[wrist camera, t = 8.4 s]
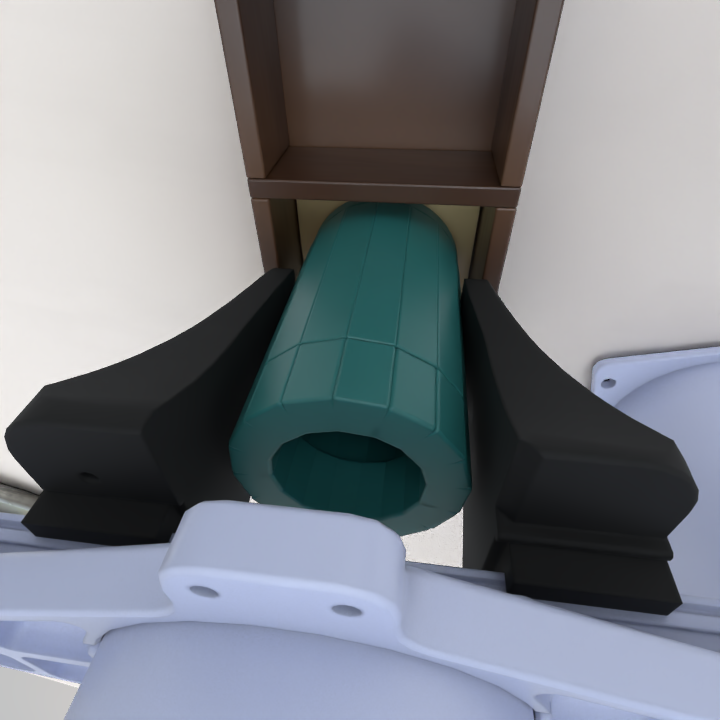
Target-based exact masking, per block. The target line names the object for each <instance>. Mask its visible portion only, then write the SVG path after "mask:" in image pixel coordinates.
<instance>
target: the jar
mask: <svg viewBox="0 0 720 720" xmlns="http://www.w3.org/2000/svg"><path fill="white" fill-rule="evenodd" d="M468 423H469V420H468V404H467V388H466V372H465V356H464V340H463V327H462V313H461V291H460V275H459V267H458V258H457V249H456V245H455V242H454V239H453V237H452V234H451V232H450V231H449V229H448V227H447V226H446V224H445V223H444V222H443V221H442V219H441V218H440V217H439V216H438V215H437V214H436V213H434V212H433V211H432V210H431V209H429V208H428V207H426V206H425V205H423V204H405V203H378V202H352V201H348V202H346V203H344V204H343V205H341V206H339V207H338V208H337V209H335V210H334V211H333V212H332V213H331V214H330V215H329V216H328V217H327V218H326V219H325V221H324V222H323V224H322V225H321V227H320V228H319V230H318V233H317V235H316V237H315V240H314V241H313V243H312V245H311V247H310V249H309V251H308V254H307V256H306V259H305V261H304V263H303V266H302V268H301V271H300V273H299V275H298V278H297V280H296V282H295V285H294V287H293V290H292V292H291V294H290V297H289V299H288V302H287V304H286V306H285V309H284V311H283V313H282V316H281V318H280V321H279V323H278V325H277V328H276V330H275V332H274V335H273V337H272V340H271V342H270V344H269V347H268V349H267V352H266V354H265V356H264V359H263V361H262V363H261V366H260V368H259V371H258V373H257V375H256V378H255V380H254V383H253V385H252V388H251V390H250V392H249V395H248V397H247V399H246V402H245V404H244V407H243V409H242V411H241V414H240V416H239V419H238V421H237V423H236V426H235V428H234V430H233V433H232V435H231V438H230V440H229V453H230V460H231V467H232V471H233V474H234V476H235V477H236V478H237V480H238V481H239V482H240V484H241V485H242V486H243V487H244V489H245V490H246V491H247V492H248V494H249V495H250V496H252V499H254V500H255V501H257V502H258V503H260V504H268V505H277V506H286V507H295V508H304V509H313V510H322V511H331V512H340V513H349V514H354V515H358V516H362V517H366V518H370V519H374V520H377V521H379V522H380V523H382V524H384V525H385V526H387V527H389V528H390V529H392V530H394V531H395V532H396V533H397V534H398V535H399V536H404V535H409V534H413V533H417V532H421V531H426V530H429V529H430V528H435V527H437V526H438V525H440V524H442V523H443V522H445V521H446V520H448V519H450V518H451V517H453V516H455V515H456V514H457V513H459V512H460V511H461V509H462V507H463V505H464V503H465V501H466V500H467V498H468V496H469V494H470V492H471V490H472V472H471V455H470V439H469V425H468Z"/></svg>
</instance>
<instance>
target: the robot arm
mask: <svg viewBox="0 0 720 720" xmlns="http://www.w3.org/2000/svg"><path fill="white" fill-rule="evenodd" d="M295 282H296V281H295V273H294V269H283V268H272V269H271V270H269V271H268V272H267V273H265V274H264V275H263V276H262V277H260V278H259V279H258V280H257V281H255V282H254V283H253V284H252V285H250V286H249V287H248V288H247V289H245V290H244V291H243V292H241V293H240V294H239V295H238V296H236V297H235V298H234V299H232V300H231V301H230V302H229V303H227V304H226V305H224V306H223V307H221V308H220V309H219V310H217V311H216V312H214V313H213V314H211V315H210V316H209V317H207V318H206V319H204V320H203V321H201V322H200V323H198V324H196V325H195V326H193V327H192V328H190V329H188V330H186V331H185V332H183V333H181V334H179V335H177V336H176V337H174V338H172V339H170V340H168V341H166V342H164V343H162V344H160V345H158V346H155V347H153V348H151V349H149V350H147V351H145V352H143V353H141V354H138V355H136V356H134V357H131V358H129V359H126V360H124V361H121V362H119V363H116V364H113V365H110V366H108V367H105V368H102V369H99V370H96V371H93V372H90V373H87V374H84V375H80V376H77V377H74V378H70V379H67V380H64V381H60V382H57V383H53V384H49V385H46V386H44V387H43V388H42V389H41V390H40V391H39V393H38V394H37V395H36V396H35V397H34V398H33V399H32V401H31V402H30V403H29V404H28V405H27V406H26V407H25V408H24V410H23V411H22V412H21V413H20V414H19V415H18V416H17V418H16V419H15V420H14V421H13V422H12V423H11V424H10V425H9V427H8V428H7V429H6V433H5V436H4V437H5V441H6V444H7V447H8V450H9V451H10V453H11V454H12V456H13V457H14V458H15V460H16V461H17V462H18V463H19V464H20V465H21V466H22V467H23V468H24V469H25V470H26V472H27V473H28V474H29V475H30V476H31V477H32V478H33V479H34V480H35V481H36V482H37V484H38V485H39V486H40V487H41V488H42V489H43V492H42V493H41V495H40V496H39V497H38V499H37V500H36V502H35V503H34V504H33V506H32V507H31V509H30V510H29V511H28V513H27V514H26V515H19V514H11V513H3V512H0V666H1V667H6V668H11V669H15V670H20V671H24V672H29V673H33V674H38V675H42V676H47V677H51V678H56V679H61V680H65V681H70V682H74V683H79V684H81V685H80V687H79V689H78V691H77V693H76V695H75V697H74V699H73V701H72V703H71V705H70V708H69V710H68V712H67V714H66V716H65V718H64V720H720V346H718V347H709V348H700V349H691V350H682V351H672V352H663V353H654V354H645V355H635V356H626V357H617V358H608V359H603V360H601V361H599V362H597V363H596V364H595V365H594V367H593V369H592V382H591V391H590V390H588V389H587V388H586V387H584V386H583V385H582V384H580V383H579V382H578V381H576V380H575V379H574V378H572V377H571V376H570V375H569V374H568V373H566V372H565V371H564V370H563V369H562V368H560V367H559V366H558V365H557V364H556V363H555V362H554V361H553V360H552V359H551V358H549V357H548V356H547V355H546V354H545V353H544V352H543V351H542V350H541V349H540V348H539V347H538V346H537V345H536V344H535V342H534V341H533V340H532V339H531V338H530V337H529V336H528V335H527V333H526V332H525V331H524V330H523V329H522V327H521V326H520V325H519V323H518V322H517V321H516V320H515V318H514V317H513V316H512V314H511V313H510V312H509V310H508V309H507V308H506V306H505V305H504V303H503V302H502V300H501V299H500V297H499V296H498V294H497V293H496V291H495V290H494V288H493V287H492V285H491V284H490V283H489V281H488V280H483V279H465V278H464V283H463V289H462V295H461V313H462V327H463V340H464V356H465V372H466V388H467V404H468V420H469V423H468V425H469V439H470V455H471V472H472V490H471V492H470V494H469V496H468V498H467V500H466V501H465V503H464V505H463V568H460V567H451V566H443V565H435V564H426V563H418V562H410V561H405V557H406V549H405V547H404V545H403V542H402V540H401V538H400V536H399V535H398V534H397V533H396V532H395V531H394V530H392V529H390V528H389V527H387V526H385V525H384V524H382V523H380V522H379V521H377V520H374V519H370V518H366V517H362V516H358V515H354V514H349V513H340V512H331V511H322V510H313V509H304V508H295V507H286V506H277V505H268V504H258V503H249V500H250V495H249V494H248V492H247V491H246V490H245V489H244V487H243V486H242V485H241V484H240V482H239V481H238V480H237V478H236V477H235V476H234V474H233V471H232V467H231V460H230V453H229V440H230V438H231V435H232V433H233V430H234V428H235V426H236V423H237V421H238V419H239V416H240V414H241V411H242V409H243V407H244V404H245V402H246V399H247V397H248V395H249V392H250V390H251V388H252V385H253V383H254V380H255V378H256V375H257V373H258V371H259V368H260V366H261V363H262V361H263V359H264V356H265V354H266V352H267V349H268V347H269V344H270V342H271V340H272V337H273V335H274V332H275V330H276V328H277V325H278V323H279V321H280V318H281V316H282V313H283V311H284V309H285V306H286V304H287V302H288V299H289V297H290V294H291V292H292V290H293V287H294V285H295ZM606 379H610V380H608V381H604V380H606Z"/></svg>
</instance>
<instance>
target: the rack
mask: <svg viewBox="0 0 720 720" xmlns="http://www.w3.org/2000/svg"><path fill="white" fill-rule="evenodd" d="M214 2H215V7H216V13H217V18H218V23H219V29H220V34H221V40H222V45H223V51H224V56H225V61H226V67H227V72H228V78H229V83H230V88H231V94H232V99H233V105H234V110H235V116H236V121H237V126H238V132H239V137H240V143H241V148H242V153H243V159H244V164H245V170H246V175H247V177H248V186H249V191H250V196H251V197H252V198H251V202H252V208H253V213H254V218H255V224H256V229H257V235H258V240H259V245H260V251H261V256H262V262H263V267H264V273H267V272H268V271H269V270H271V269H272V268H283V269H294V273H295V281H296V280H297V278H298V275H299V273H300V271H301V268H302V266H303V263H304V261H305V259H306V256H307V254H308V251H309V249H310V247H311V245H312V243H313V241H314V240H315V237H316V235H317V233H318V230H319V228H320V227H321V225H322V224H323V222H324V221H325V219H326V218H327V217H328V216H329V215H330V214H331V213H332V212H333V211H334V210H335V209H337V208H338V207H339V206H341V205H343V204H344V203H346V202H348V201H352V202H378V203H405V204H423V205H425V206H426V207H428V208H429V209H431V210H432V211H433V212H434V213H436V214H437V215H438V216H439V217H440V218H441V219H442V221H443V222H444V223H445V224H446V226H447V227H448V229H449V231H450V232H451V234H452V237H453V239H454V242H455V245H456V249H457V258H458V267H459V275H460V291H461V295H462V289H463V283H464V278H465V279H483V280H488V281H489V283H490V284H491V285H492V287H493V288H494V290H495V291H496V293H498V288H499V284H500V280H501V275H502V271H503V267H504V262H505V258H506V253H507V249H508V245H509V240H510V236H511V232H512V227H513V223H514V218H515V214H516V207H517V205H518V201H519V197H520V192H521V186H522V184H523V179H524V175H525V170H526V166H527V162H528V157H529V153H530V149H531V144H532V140H533V136H534V131H535V127H536V122H537V118H538V114H539V109H540V105H541V101H542V96H543V92H544V88H545V83H546V79H547V74H548V70H549V66H550V61H551V57H552V53H553V48H554V44H555V40H556V35H557V31H558V26H559V22H560V18H561V13H562V9H563V5H564V0H214Z"/></svg>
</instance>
